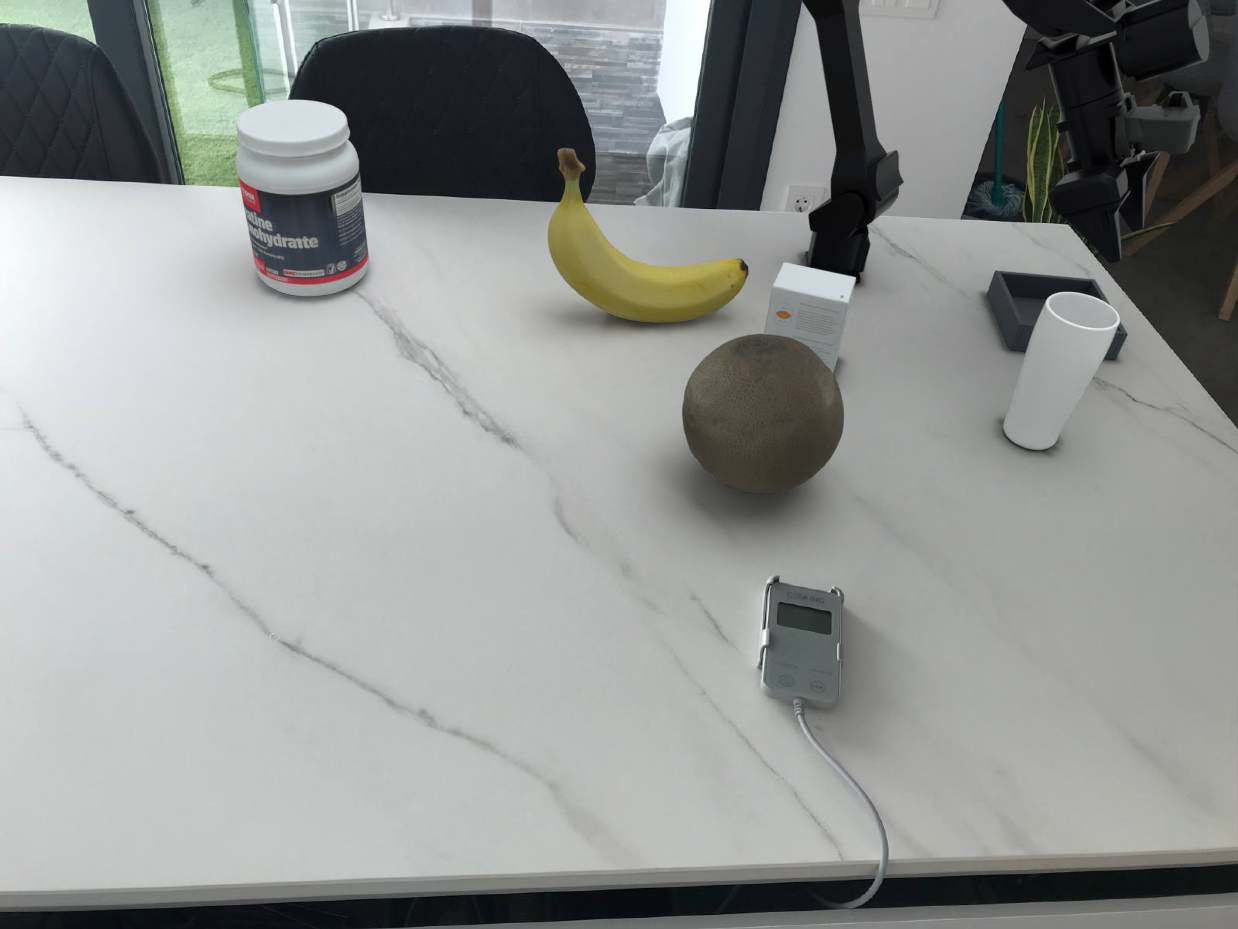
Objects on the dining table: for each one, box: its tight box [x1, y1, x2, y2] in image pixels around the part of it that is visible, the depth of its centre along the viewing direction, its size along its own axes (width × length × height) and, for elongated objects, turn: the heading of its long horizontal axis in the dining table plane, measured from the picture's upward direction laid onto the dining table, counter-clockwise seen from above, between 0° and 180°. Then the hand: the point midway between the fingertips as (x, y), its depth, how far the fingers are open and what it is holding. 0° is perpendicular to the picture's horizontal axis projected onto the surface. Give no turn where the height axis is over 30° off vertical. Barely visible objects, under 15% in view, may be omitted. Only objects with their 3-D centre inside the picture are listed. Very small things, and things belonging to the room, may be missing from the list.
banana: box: [547, 147, 750, 324], centre depth 106 cm, size 23×6×20 cm, turn 97°
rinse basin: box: [986, 270, 1129, 361], centre depth 115 cm, size 12×12×4 cm
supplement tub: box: [235, 99, 370, 297], centre depth 109 cm, size 13×13×18 cm
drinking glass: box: [1002, 292, 1121, 451], centre depth 95 cm, size 7×7×15 cm
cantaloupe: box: [681, 333, 845, 494], centre depth 87 cm, size 14×14×15 cm
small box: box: [763, 261, 856, 374], centre depth 103 cm, size 8×6×10 cm
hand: (1127, 245), depth 101 cm, fingers open, 9 cm apart
